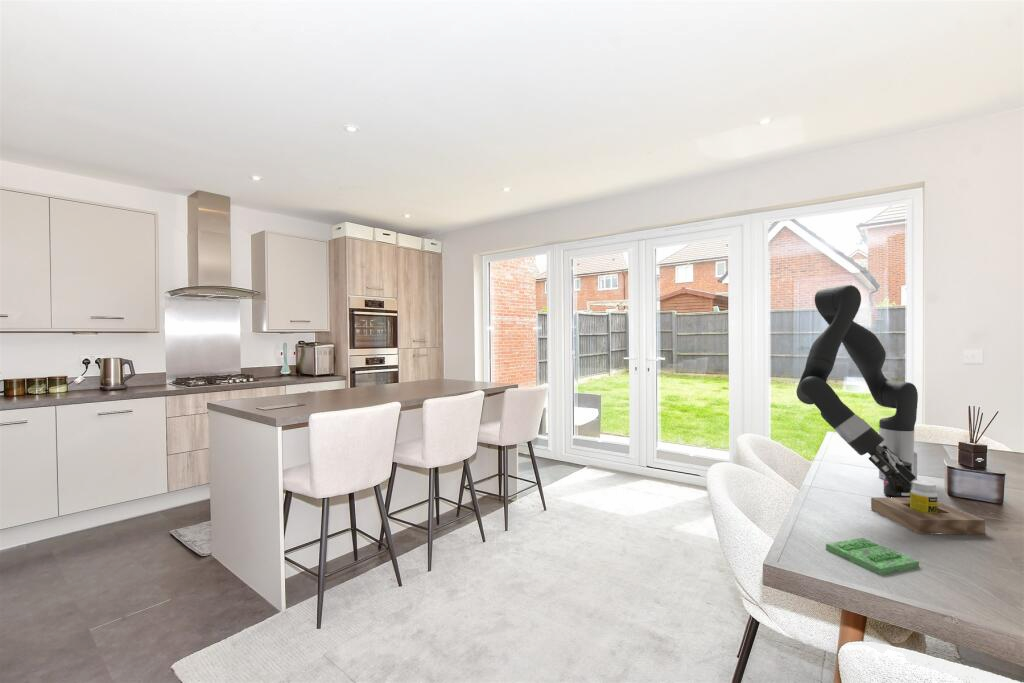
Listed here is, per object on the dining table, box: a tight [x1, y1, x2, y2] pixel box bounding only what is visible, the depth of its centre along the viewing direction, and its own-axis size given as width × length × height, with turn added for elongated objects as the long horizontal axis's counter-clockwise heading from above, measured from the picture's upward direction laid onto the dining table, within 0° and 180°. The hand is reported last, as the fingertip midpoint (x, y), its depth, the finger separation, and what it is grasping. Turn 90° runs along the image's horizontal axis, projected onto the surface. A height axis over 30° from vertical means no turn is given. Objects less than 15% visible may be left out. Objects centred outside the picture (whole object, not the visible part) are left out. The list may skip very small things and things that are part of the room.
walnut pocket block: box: [870, 497, 986, 535], centre depth 124 cm, size 16×16×4 cm
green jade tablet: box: [825, 537, 920, 576], centre depth 104 cm, size 11×12×2 cm
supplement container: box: [883, 461, 913, 498], centre depth 143 cm, size 7×7×10 cm
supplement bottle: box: [910, 479, 939, 513], centre depth 124 cm, size 6×6×10 cm
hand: (910, 483), depth 126 cm, fingers open, 8 cm apart
